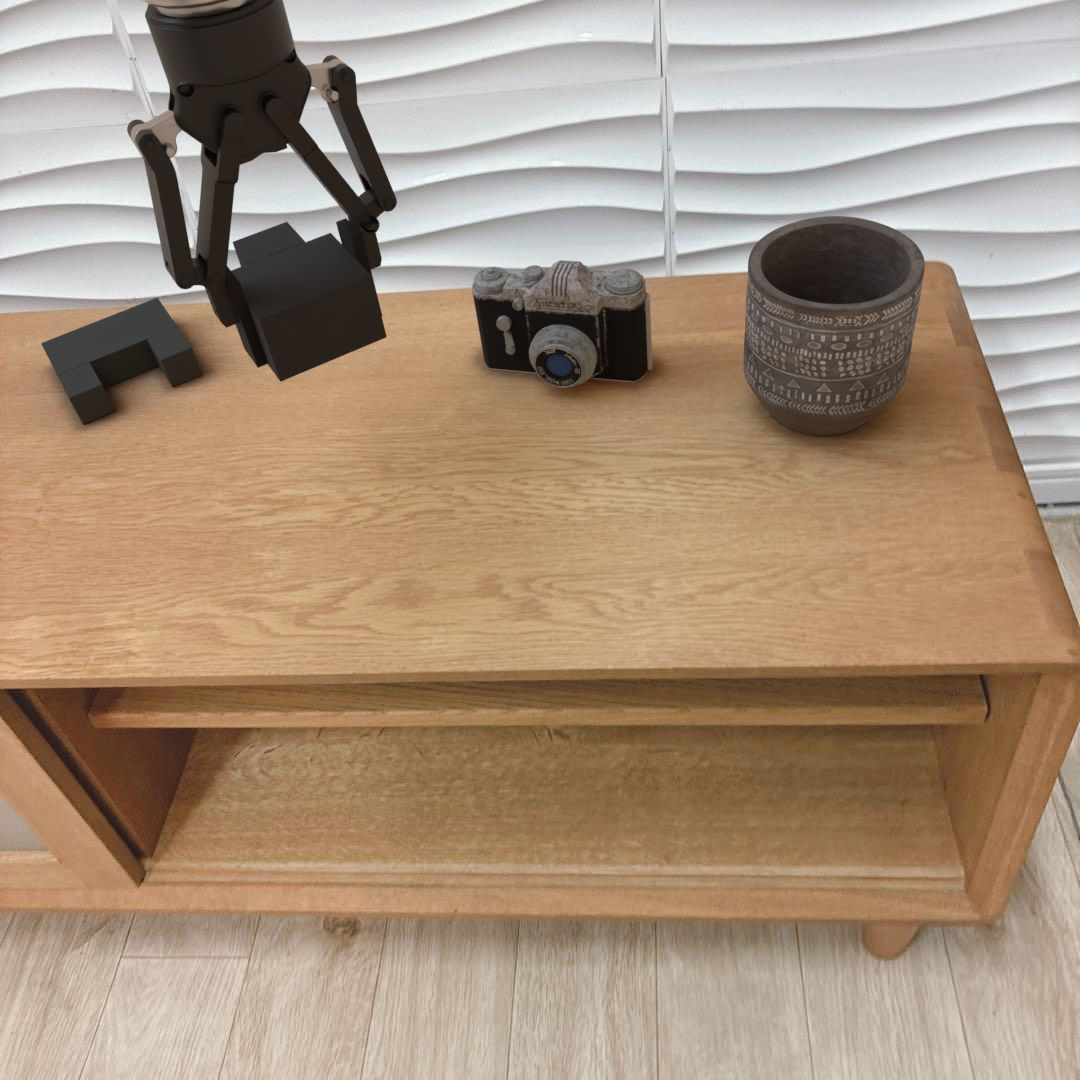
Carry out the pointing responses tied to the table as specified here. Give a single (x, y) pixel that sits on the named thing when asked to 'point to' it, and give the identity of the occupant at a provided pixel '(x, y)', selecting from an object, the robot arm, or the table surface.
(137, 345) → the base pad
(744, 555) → the table surface
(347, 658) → the table surface
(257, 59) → the robot arm
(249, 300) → the pad
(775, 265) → the planter
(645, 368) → the camera
